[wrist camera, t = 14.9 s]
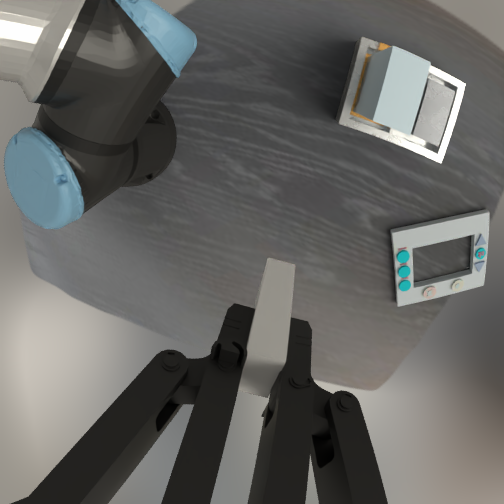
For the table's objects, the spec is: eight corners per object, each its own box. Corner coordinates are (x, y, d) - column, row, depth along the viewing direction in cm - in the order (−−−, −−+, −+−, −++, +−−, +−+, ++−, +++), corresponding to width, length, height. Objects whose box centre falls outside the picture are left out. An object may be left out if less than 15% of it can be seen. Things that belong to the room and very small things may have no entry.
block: (353, 111, 35) (372, 120, 25) (368, 56, 31) (393, 45, 21) (381, 121, 35) (410, 135, 25) (396, 67, 31) (430, 62, 21)
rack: (335, 120, 38) (339, 124, 33) (356, 41, 32) (363, 35, 27) (429, 155, 38) (444, 165, 33) (451, 83, 31) (469, 84, 27)
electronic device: (490, 213, 38) (484, 286, 44) (484, 207, 40) (479, 279, 46) (392, 234, 43) (398, 308, 50) (389, 227, 45) (395, 300, 52)
